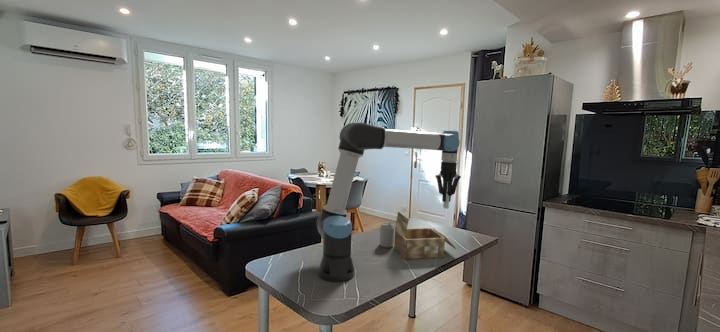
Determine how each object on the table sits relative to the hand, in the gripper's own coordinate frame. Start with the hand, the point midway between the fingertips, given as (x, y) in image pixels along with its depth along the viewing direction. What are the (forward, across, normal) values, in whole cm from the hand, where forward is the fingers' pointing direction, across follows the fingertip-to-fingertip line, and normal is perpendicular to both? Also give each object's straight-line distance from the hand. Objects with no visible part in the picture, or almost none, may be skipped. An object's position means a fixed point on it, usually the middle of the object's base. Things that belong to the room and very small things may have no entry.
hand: (445, 207), depth 162 cm
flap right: (+16, 0, 0) cm, 16 cm away
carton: (+23, -14, 0) cm, 27 cm away
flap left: (+8, -23, 0) cm, 24 cm away
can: (+23, -26, +12) cm, 37 cm away
